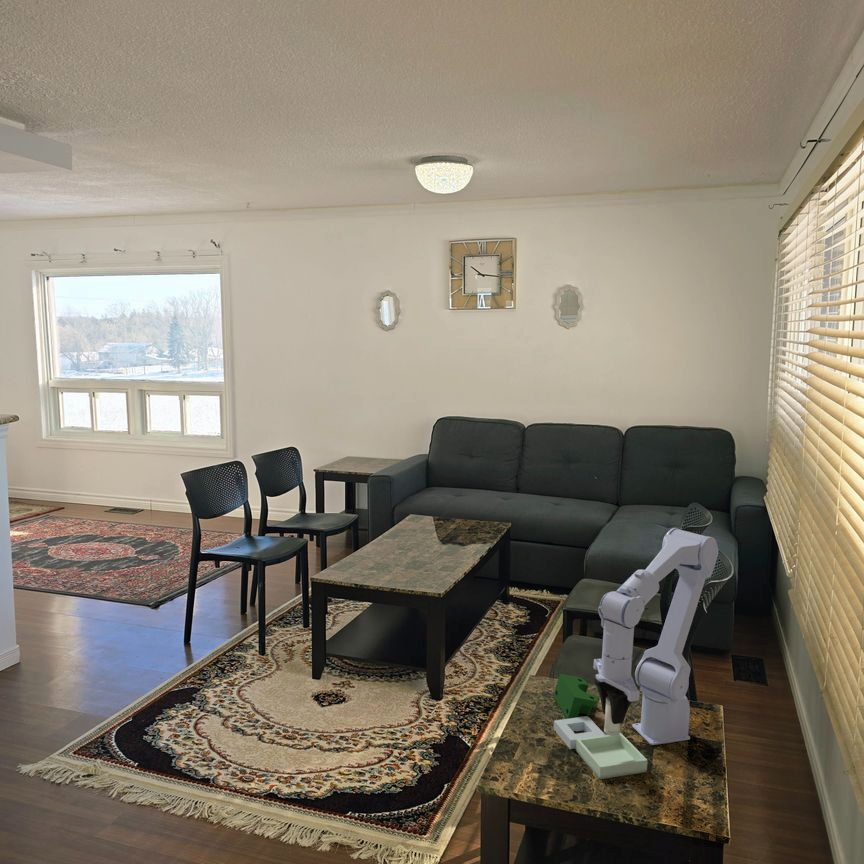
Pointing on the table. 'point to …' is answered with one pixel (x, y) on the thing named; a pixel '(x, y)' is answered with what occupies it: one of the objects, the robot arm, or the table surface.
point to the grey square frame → (568, 727)
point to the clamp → (573, 696)
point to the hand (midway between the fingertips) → (613, 718)
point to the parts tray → (611, 756)
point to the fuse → (610, 721)
